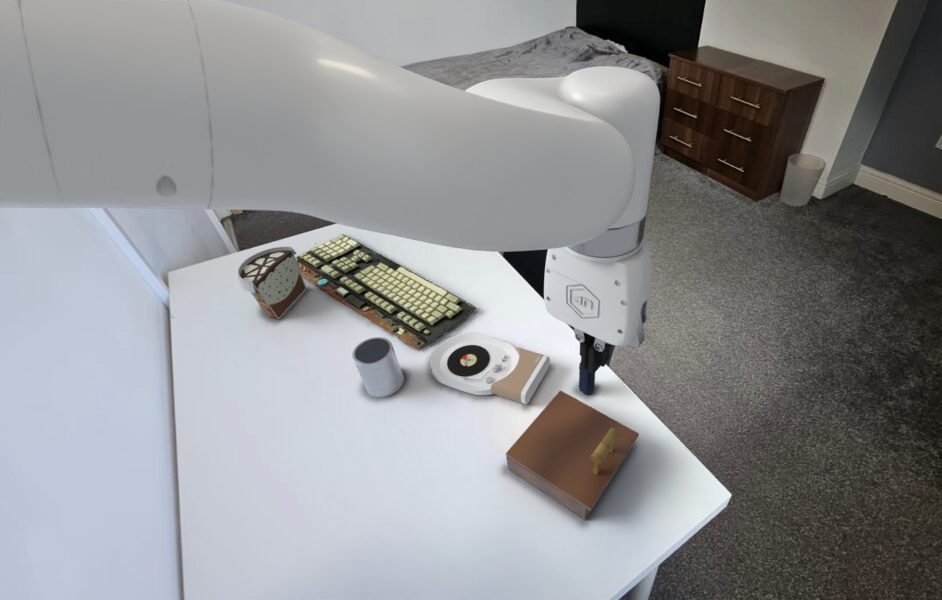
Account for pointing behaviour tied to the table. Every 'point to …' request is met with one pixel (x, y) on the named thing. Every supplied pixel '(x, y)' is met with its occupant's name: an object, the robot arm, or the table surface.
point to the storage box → (547, 489)
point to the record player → (488, 367)
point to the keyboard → (383, 290)
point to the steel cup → (378, 366)
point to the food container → (273, 279)
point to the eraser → (586, 381)
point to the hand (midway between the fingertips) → (594, 363)
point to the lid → (573, 448)
